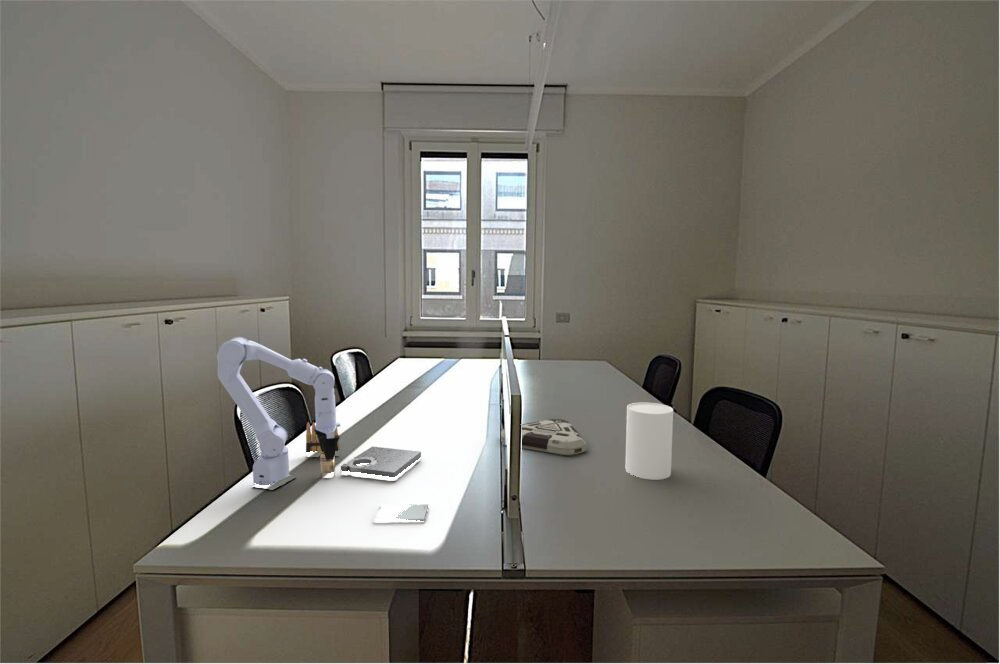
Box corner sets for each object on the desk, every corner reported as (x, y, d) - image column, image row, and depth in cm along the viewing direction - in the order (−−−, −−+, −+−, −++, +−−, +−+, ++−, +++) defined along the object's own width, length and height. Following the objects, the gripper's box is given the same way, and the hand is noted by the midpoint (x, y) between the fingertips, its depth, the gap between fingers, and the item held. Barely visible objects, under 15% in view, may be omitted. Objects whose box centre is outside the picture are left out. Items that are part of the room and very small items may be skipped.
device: (492, 444, 177) (492, 431, 176) (524, 425, 200) (524, 413, 200) (579, 460, 161) (579, 445, 161) (602, 436, 185) (602, 424, 185)
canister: (669, 465, 156) (671, 403, 154) (672, 481, 143) (674, 415, 141) (625, 460, 159) (627, 401, 157) (624, 476, 146) (626, 412, 144)
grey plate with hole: (394, 482, 143) (394, 472, 142) (341, 475, 148) (340, 466, 147) (421, 460, 160) (420, 451, 160) (372, 455, 165) (372, 446, 165)
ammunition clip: (305, 457, 163) (304, 422, 161) (307, 455, 164) (305, 421, 163) (338, 456, 164) (337, 422, 162) (339, 454, 165) (338, 420, 164)
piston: (329, 479, 145) (329, 457, 144) (317, 478, 146) (316, 455, 145) (338, 474, 149) (337, 452, 148) (326, 472, 150) (325, 450, 149)
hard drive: (428, 503, 127) (380, 503, 127) (424, 518, 119) (373, 519, 119) (428, 509, 127) (380, 509, 127) (424, 525, 119) (373, 525, 119)
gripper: (344, 414, 141) (346, 460, 142) (334, 403, 153) (336, 445, 155) (318, 418, 137) (320, 464, 139) (311, 406, 150) (313, 449, 151)
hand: (327, 455), depth 147 cm, fingers open, 7 cm apart
